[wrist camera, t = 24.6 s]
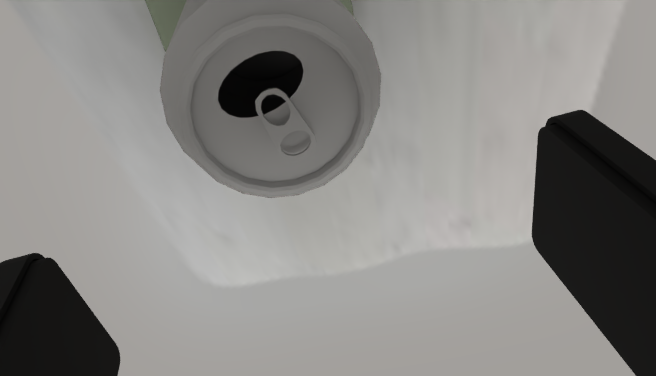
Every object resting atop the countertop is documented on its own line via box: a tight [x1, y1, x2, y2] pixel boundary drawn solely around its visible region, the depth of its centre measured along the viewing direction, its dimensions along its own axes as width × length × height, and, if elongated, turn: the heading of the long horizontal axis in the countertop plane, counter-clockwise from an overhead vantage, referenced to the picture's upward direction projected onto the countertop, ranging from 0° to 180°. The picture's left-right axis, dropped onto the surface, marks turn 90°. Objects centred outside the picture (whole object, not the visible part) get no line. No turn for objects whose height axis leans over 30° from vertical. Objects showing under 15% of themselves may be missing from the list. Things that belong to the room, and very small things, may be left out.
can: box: [160, 0, 381, 198], centre depth 20 cm, size 8×8×12 cm
